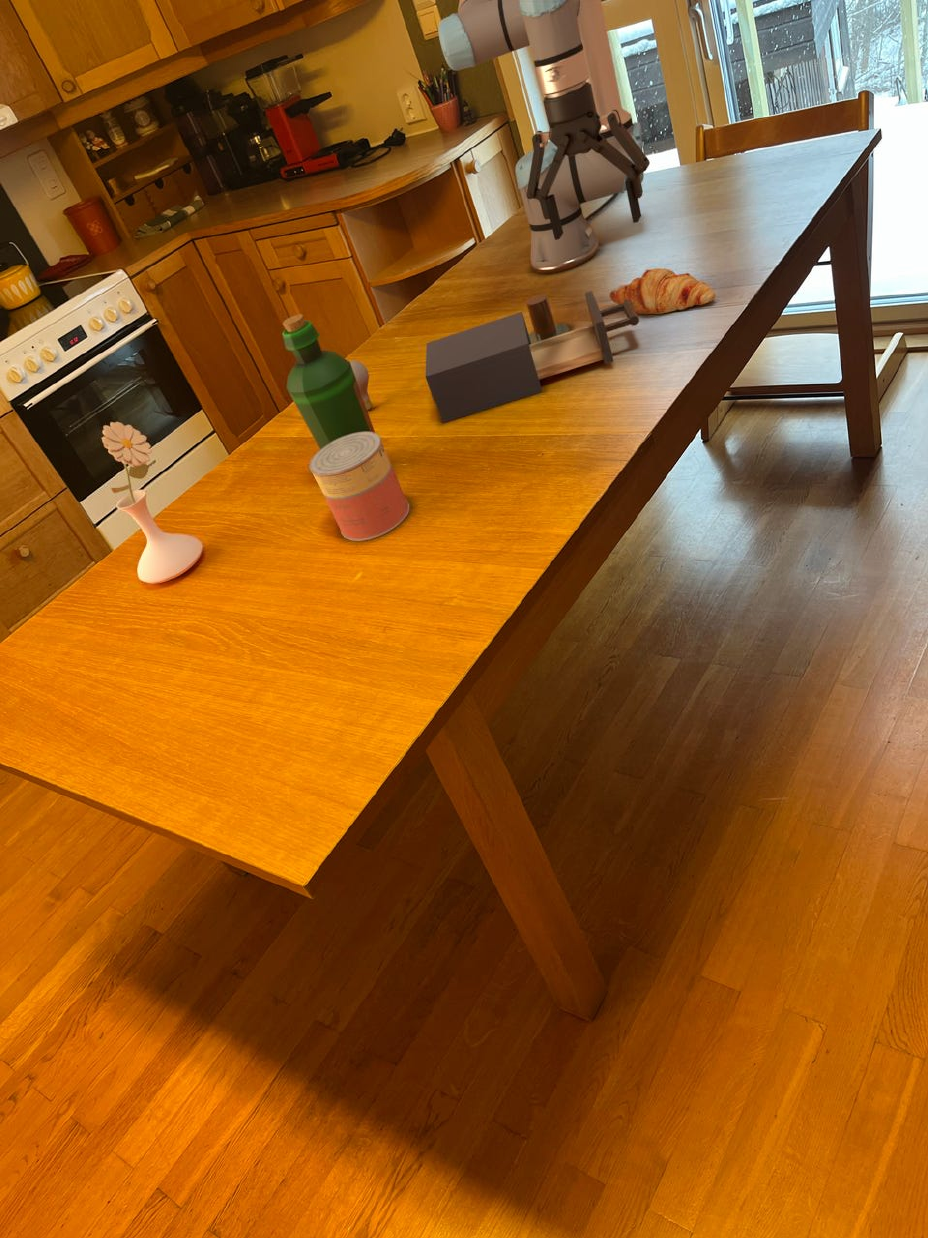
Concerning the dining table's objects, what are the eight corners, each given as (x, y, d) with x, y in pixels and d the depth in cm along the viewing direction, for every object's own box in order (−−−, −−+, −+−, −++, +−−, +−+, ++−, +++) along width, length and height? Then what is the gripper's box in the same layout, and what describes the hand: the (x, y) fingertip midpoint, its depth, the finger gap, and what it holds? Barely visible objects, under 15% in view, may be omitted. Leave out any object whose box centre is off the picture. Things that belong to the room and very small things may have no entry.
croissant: (725, 314, 161) (729, 266, 159) (700, 312, 154) (704, 262, 151) (622, 315, 174) (624, 271, 172) (594, 314, 167) (596, 268, 164)
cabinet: (535, 357, 165) (521, 311, 160) (542, 391, 153) (528, 343, 148) (442, 387, 168) (426, 342, 163) (442, 423, 157) (425, 376, 151)
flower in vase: (174, 593, 141) (84, 458, 126) (130, 586, 148) (40, 457, 133) (227, 542, 149) (148, 409, 134) (183, 538, 155) (103, 410, 140)
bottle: (402, 454, 152) (336, 297, 136) (379, 491, 145) (307, 329, 128) (349, 462, 157) (279, 310, 140) (324, 497, 150) (247, 341, 133)
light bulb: (386, 401, 172) (366, 353, 166) (373, 416, 168) (353, 367, 163) (363, 403, 175) (343, 356, 169) (350, 418, 171) (329, 371, 165)
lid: (523, 336, 175) (512, 298, 170) (567, 321, 173) (557, 283, 169) (526, 353, 168) (515, 315, 163) (572, 338, 166) (562, 299, 162)
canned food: (423, 503, 137) (395, 435, 130) (373, 546, 132) (341, 478, 125) (376, 492, 145) (347, 428, 138) (327, 533, 140) (294, 468, 133)
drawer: (632, 318, 161) (624, 279, 157) (647, 350, 149) (639, 309, 145) (504, 360, 165) (493, 323, 161) (509, 394, 154) (496, 355, 149)
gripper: (484, 117, 140) (521, 251, 153) (640, 71, 129) (667, 220, 141) (499, 103, 145) (534, 234, 158) (651, 58, 134) (676, 203, 146)
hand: (597, 228), depth 150 cm, fingers open, 13 cm apart
